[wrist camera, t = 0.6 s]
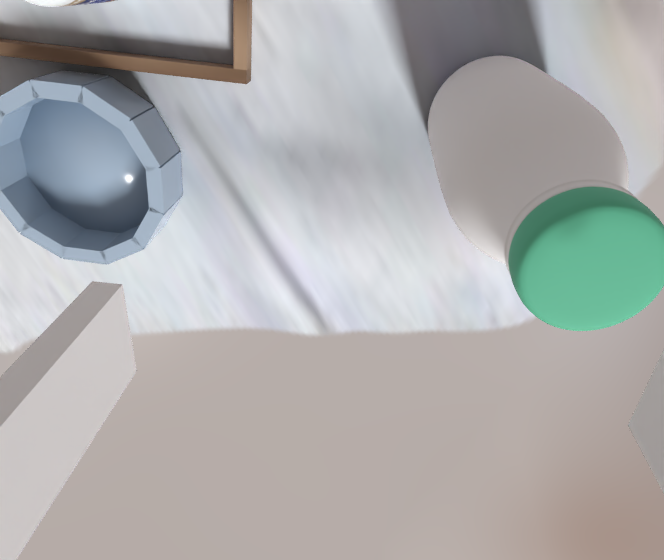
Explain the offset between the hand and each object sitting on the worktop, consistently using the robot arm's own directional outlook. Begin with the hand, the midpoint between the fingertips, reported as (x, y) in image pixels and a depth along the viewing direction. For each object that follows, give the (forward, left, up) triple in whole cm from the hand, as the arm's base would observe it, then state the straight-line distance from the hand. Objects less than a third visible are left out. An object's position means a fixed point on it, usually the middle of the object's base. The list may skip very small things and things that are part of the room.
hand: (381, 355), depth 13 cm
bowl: (+5, -20, -24) cm, 32 cm away
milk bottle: (-1, +6, -24) cm, 25 cm away
